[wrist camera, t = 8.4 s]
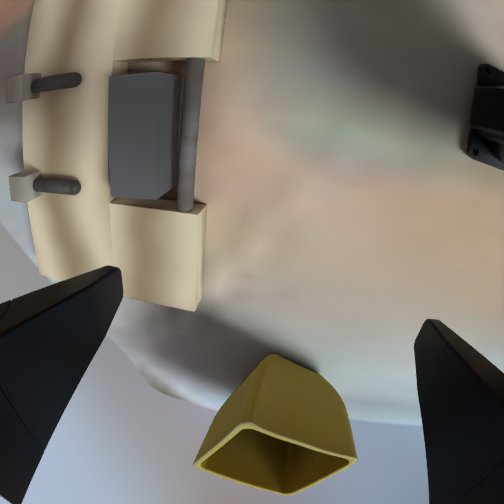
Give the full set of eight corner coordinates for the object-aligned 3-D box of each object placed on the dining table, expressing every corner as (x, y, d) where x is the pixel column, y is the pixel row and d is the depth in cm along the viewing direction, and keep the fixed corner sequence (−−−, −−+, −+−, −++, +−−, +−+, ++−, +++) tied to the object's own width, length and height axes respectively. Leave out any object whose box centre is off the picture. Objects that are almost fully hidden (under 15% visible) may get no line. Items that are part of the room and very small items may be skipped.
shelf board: (233, -37, 13) (218, -63, 10) (202, 295, 24) (187, 328, 20) (53, -7, 14) (20, -15, 11) (53, 263, 25) (27, 285, 21)
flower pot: (214, 384, 28) (190, 467, 20) (260, 325, 24) (241, 423, 16) (295, 418, 29) (288, 497, 21) (352, 368, 25) (361, 460, 17)
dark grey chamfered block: (181, 75, 17) (158, 71, 14) (178, 183, 20) (156, 199, 17) (137, 78, 17) (108, 76, 14) (137, 181, 21) (110, 196, 17)
